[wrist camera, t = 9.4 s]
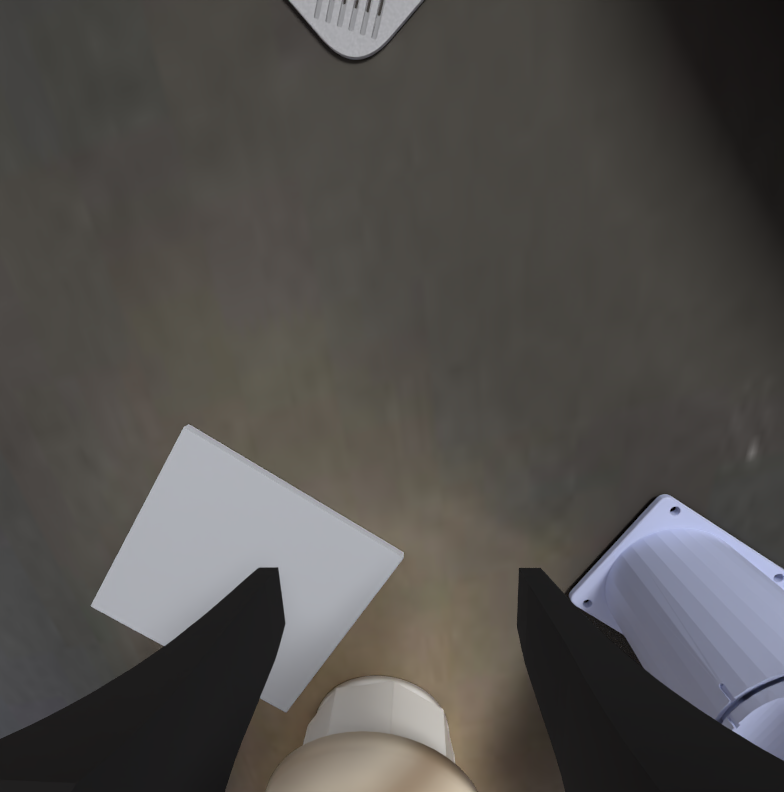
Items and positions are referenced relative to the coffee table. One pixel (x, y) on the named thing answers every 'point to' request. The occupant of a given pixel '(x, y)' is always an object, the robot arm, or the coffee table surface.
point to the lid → (367, 766)
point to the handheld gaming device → (355, 23)
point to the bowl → (383, 712)
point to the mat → (243, 558)
